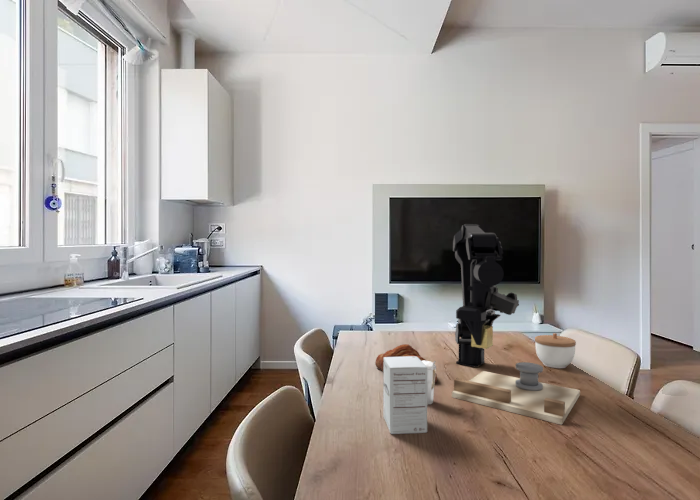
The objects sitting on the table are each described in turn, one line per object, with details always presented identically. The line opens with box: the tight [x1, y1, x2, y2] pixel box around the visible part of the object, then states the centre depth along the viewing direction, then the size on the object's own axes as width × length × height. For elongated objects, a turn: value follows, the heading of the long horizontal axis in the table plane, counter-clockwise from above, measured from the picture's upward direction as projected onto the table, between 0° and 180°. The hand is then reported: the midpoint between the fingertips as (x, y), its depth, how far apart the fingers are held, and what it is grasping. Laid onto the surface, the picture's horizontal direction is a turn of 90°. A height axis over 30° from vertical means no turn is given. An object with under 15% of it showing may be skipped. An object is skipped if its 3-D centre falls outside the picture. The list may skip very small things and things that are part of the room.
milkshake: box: [422, 359, 437, 405], centre depth 90 cm, size 4×5×10 cm
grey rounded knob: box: [515, 361, 544, 391], centre depth 96 cm, size 6×6×5 cm
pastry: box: [374, 343, 438, 384], centre depth 110 cm, size 17×15×8 cm
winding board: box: [451, 370, 581, 426], centre depth 93 cm, size 23×20×4 cm
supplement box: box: [382, 356, 428, 435], centre depth 78 cm, size 7×7×13 cm
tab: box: [471, 325, 494, 350], centre depth 102 cm, size 4×4×5 cm
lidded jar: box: [534, 332, 577, 369], centre depth 118 cm, size 11×11×9 cm
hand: (481, 343), depth 102 cm, fingers closed on tab, 4 cm apart
